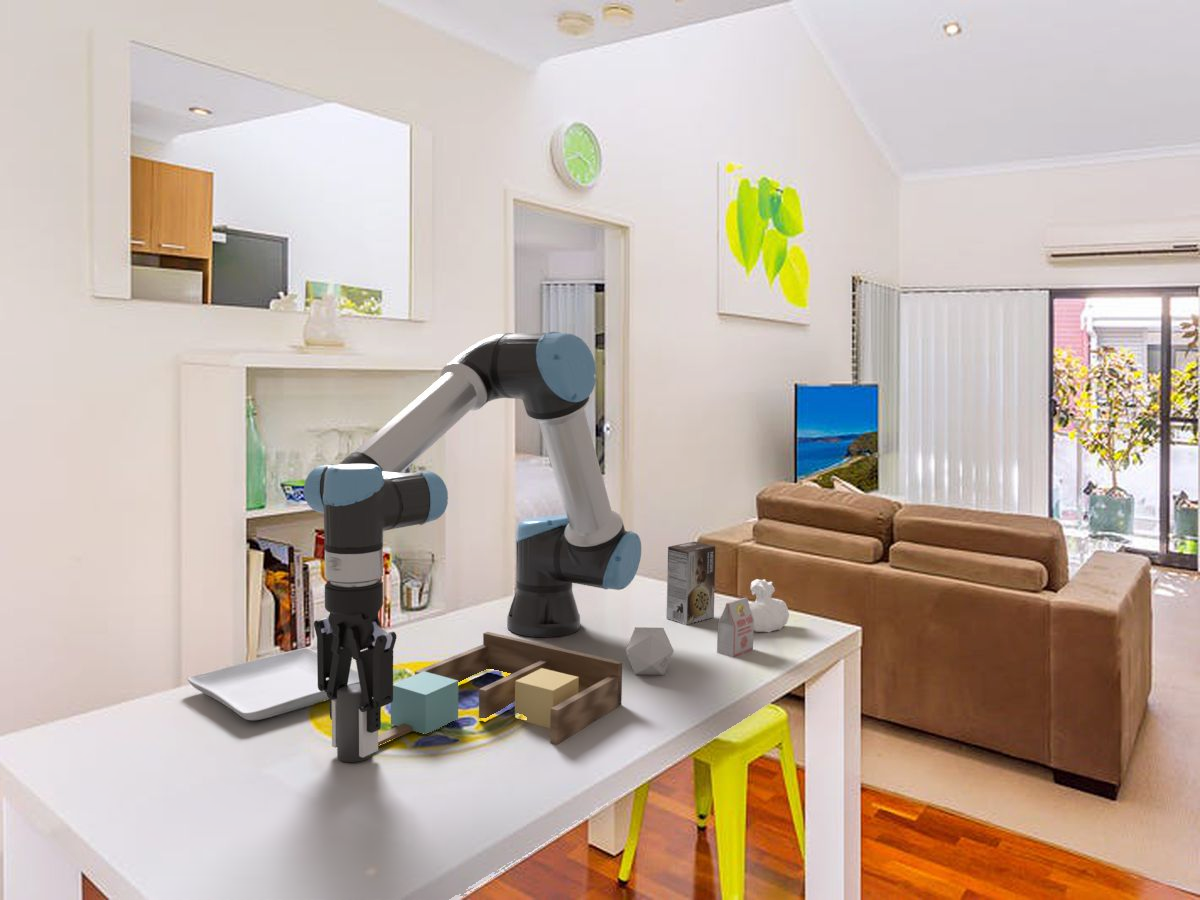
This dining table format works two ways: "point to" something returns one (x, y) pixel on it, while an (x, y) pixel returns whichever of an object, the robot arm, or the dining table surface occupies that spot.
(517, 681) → the block
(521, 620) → the robot arm
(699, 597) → the food box
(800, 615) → the dining table surface
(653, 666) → the die
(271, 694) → the salad plate
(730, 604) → the white gable top carton
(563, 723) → the lane rack
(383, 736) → the block
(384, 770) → the dining table surface
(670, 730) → the dining table surface
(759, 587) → the bust
